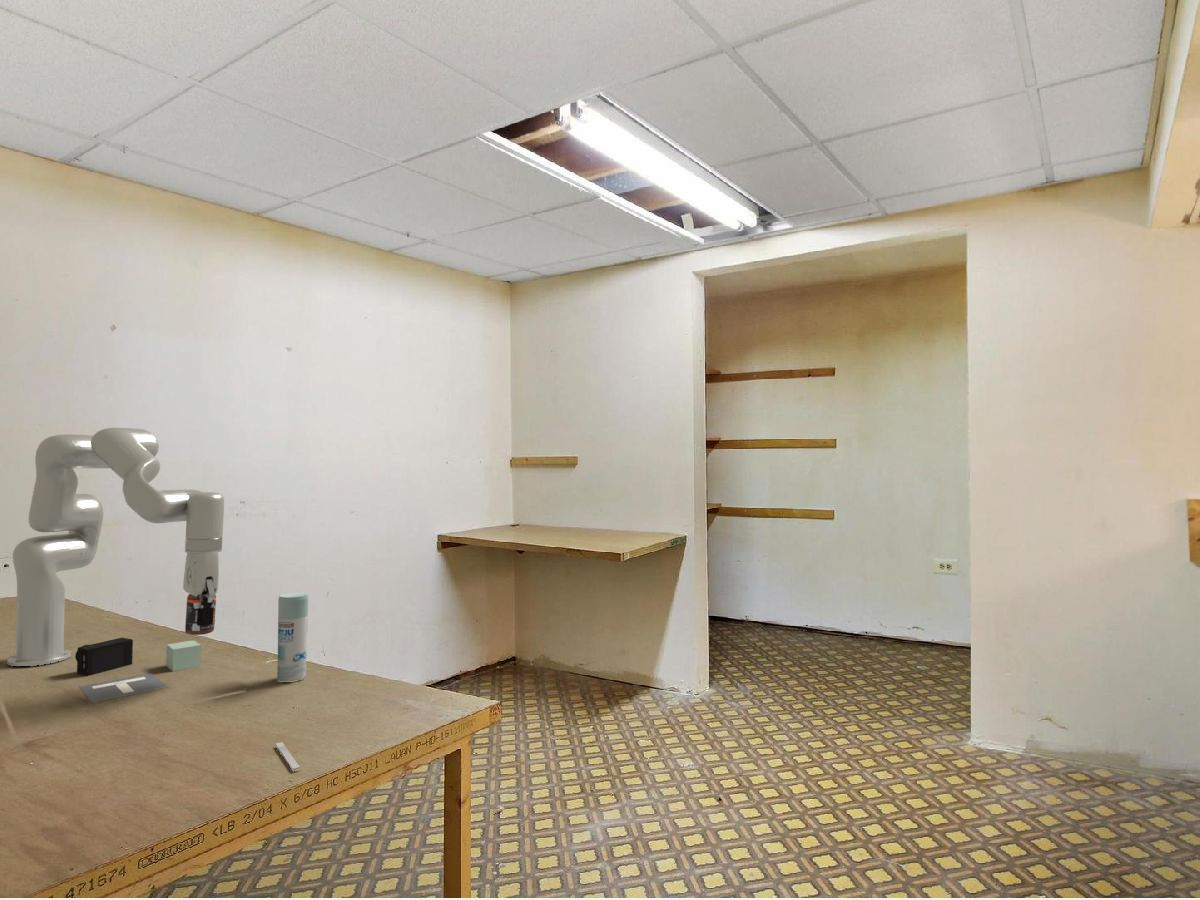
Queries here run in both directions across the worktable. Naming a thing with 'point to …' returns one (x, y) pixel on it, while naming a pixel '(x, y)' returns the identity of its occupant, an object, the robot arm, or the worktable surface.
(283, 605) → the spray paint can
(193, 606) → the supplement bottle
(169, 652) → the sage block
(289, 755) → the light grey rod
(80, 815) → the worktable surface
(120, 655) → the digital camera
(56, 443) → the robot arm
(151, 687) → the board
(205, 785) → the worktable surface
